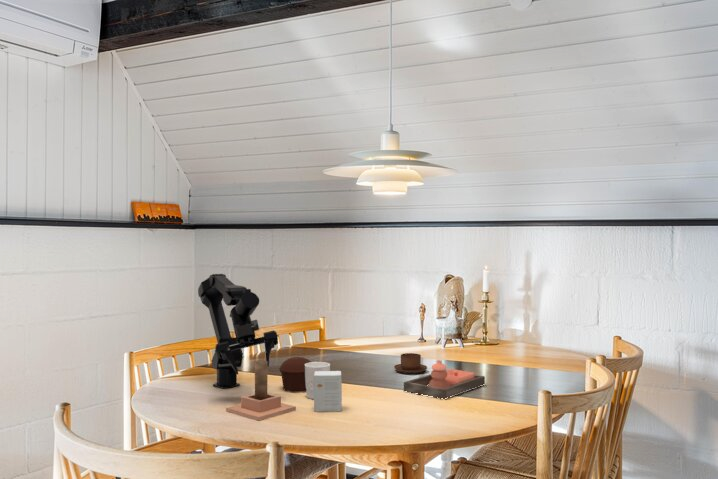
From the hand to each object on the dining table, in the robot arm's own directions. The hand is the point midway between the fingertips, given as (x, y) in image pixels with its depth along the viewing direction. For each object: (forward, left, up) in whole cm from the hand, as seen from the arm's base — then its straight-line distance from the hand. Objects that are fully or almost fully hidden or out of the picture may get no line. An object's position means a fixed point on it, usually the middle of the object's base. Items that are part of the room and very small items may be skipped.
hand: (253, 370), depth 199 cm
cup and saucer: (+10, +66, -10) cm, 67 cm away
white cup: (+10, +18, -10) cm, 22 cm away
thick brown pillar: (+9, -5, -9) cm, 13 cm away
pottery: (+34, +54, -10) cm, 65 cm away
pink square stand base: (+9, -4, -10) cm, 14 cm away
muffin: (-2, +21, -10) cm, 23 cm away
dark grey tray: (+34, +53, -10) cm, 63 cm away
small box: (+22, +10, -10) cm, 26 cm away
